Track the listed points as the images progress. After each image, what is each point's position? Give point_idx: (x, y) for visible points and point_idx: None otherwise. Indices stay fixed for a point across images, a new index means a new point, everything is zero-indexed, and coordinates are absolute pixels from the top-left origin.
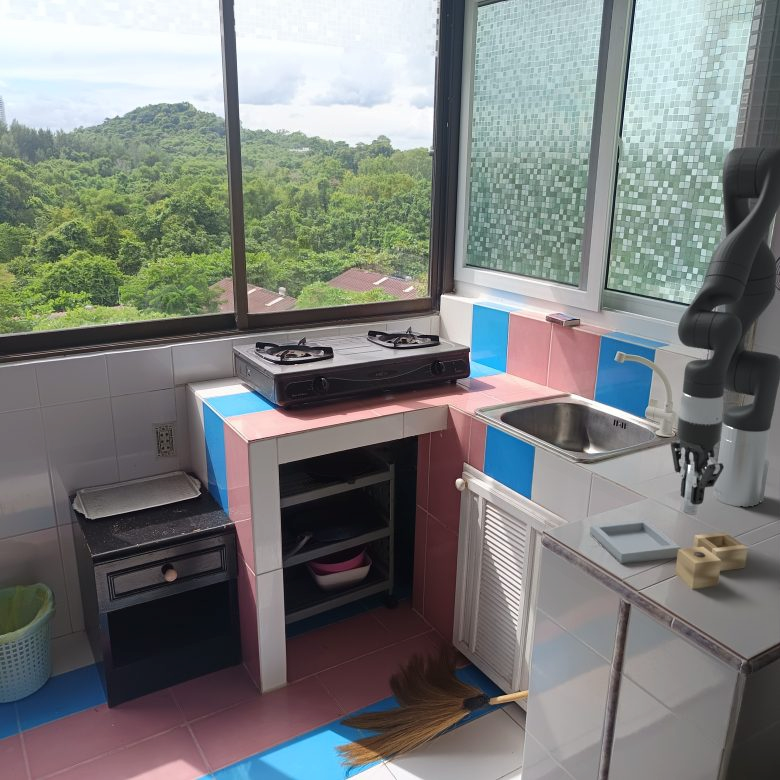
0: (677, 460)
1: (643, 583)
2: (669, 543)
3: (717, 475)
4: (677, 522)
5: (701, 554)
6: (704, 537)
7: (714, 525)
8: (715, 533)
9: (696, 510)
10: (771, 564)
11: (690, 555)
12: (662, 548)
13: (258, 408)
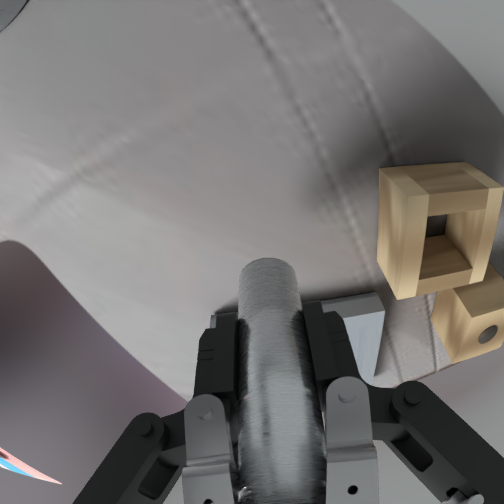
0: (164, 500)
1: (425, 363)
2: (359, 326)
3: (486, 453)
4: (154, 211)
5: (491, 332)
6: (417, 279)
7: (173, 91)
8: (407, 234)
9: (293, 279)
10: (460, 69)
11: (479, 349)
12: (376, 345)
13: (6, 462)
